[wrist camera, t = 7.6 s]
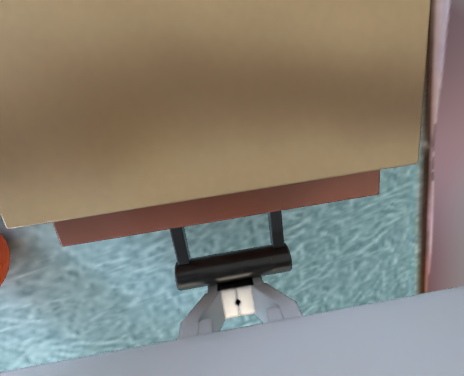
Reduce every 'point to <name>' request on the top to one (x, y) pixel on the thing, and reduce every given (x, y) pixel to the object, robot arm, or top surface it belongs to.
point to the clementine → (4, 259)
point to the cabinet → (200, 98)
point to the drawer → (218, 209)
